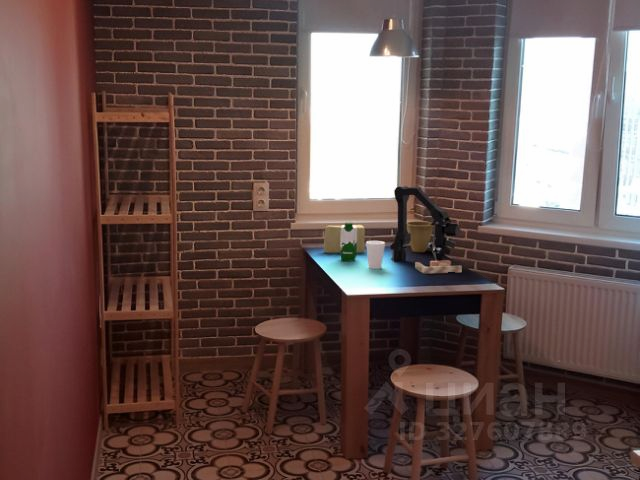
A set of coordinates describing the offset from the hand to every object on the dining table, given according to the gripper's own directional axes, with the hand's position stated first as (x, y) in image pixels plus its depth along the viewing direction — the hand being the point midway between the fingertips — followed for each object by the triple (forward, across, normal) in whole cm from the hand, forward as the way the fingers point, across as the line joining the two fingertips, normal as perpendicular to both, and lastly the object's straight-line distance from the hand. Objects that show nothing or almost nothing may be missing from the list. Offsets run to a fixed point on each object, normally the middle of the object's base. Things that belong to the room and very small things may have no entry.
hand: (438, 264), depth 398 cm
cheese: (+2, +45, +40) cm, 60 cm away
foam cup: (+1, +3, +33) cm, 33 cm away
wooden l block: (+1, -7, +3) cm, 8 cm away
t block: (+1, -7, 0) cm, 7 cm away
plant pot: (+2, +41, -3) cm, 41 cm away
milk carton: (+1, +24, +42) cm, 48 cm away
